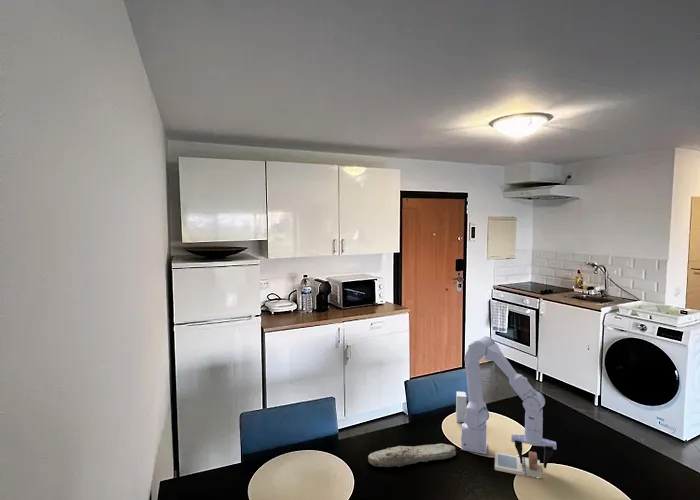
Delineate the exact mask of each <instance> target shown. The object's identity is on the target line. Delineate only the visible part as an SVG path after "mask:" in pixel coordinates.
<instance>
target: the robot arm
mask: <svg viewBox="0 0 700 500" xmlns="http://www.w3.org/2000/svg"><path fill="white" fill-rule="evenodd" d="M467 347H468V348H467V350H466V352H465V354H464V364H465V365H464V366H465V374H466V375H465V377H466V387H467V398H468V402H467V406H466V414H465V417H464V419H465V423H462V424H461V437H460V442H461V448H460V449H461V450H463V451H468V452H472V453H478V454H482V455H487V454H488V442H487V421H488V420H490V412H489V410H488V408H487V403H486V402H485V401H484V400H483V390H482V377H481V368H480V360H482V359H483V358H484V360H486V361H491V362H494V364H496V366H497V367H498V368H499V369H500V370H501V372H503V374H505V375H506V377H507V378H508V381H509V383H508V384H509V385H510V386H511V388H512V389H513V391H514V392H515V394H517V396H519V398H520V400H522V407H523V408H524V410H525V414H524V434H511V437H510V438H511V440H510V441H511V443H514V447H515V450H516V451H517V453H518V457H520V463H521V464H522V462H523V461H522V457H523V444H525V445H526V444H527V445H531V446H533V447H534V446H536V447H543V468H544V469H547V465H548V462H549V460H550V458H551V457H552V455H553V454H554V451H555V450H557V442H556V441H554V440H550V439H547V438H543V424H544V423H543V421H544V417H543V415H544V414H543V413H544V411H543V407H544V406H545V405H546V398H545V397H544V395H543V394H542V393H541V392H540V391H537V390H536V389H535V388H533V386H532V385H531V384H530V382H529V381H528V380H529V379H528V378H527V377H526V376H524V375H523V374H521V373H517V372H516V370H515V369H514V368H513V366H512V364H511V363H510V362H509V360H508V359H507V357H506V356H505V355H504V354H503V353H502V351H501V349H500V347H499V344H497V343H496V341H495V340H494V339H493V338H492V337H490V336H484V337H481V338H479V339H477V340H474V341H472V342H471V343H470V344H468V346H467Z"/></svg>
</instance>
